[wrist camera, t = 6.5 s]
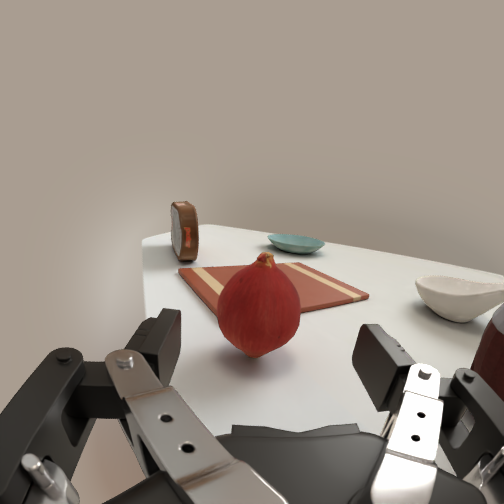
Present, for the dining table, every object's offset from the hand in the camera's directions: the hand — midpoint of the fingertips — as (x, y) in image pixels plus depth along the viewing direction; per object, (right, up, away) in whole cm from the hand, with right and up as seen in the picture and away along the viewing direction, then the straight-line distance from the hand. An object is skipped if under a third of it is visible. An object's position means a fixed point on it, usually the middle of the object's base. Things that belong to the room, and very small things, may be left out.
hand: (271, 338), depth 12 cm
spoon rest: (+28, -6, +14) cm, 32 cm away
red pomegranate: (-1, -4, +9) cm, 10 cm away
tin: (-12, +3, +35) cm, 37 cm away
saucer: (+8, +4, +47) cm, 48 cm away
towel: (+2, -1, +24) cm, 24 cm away
